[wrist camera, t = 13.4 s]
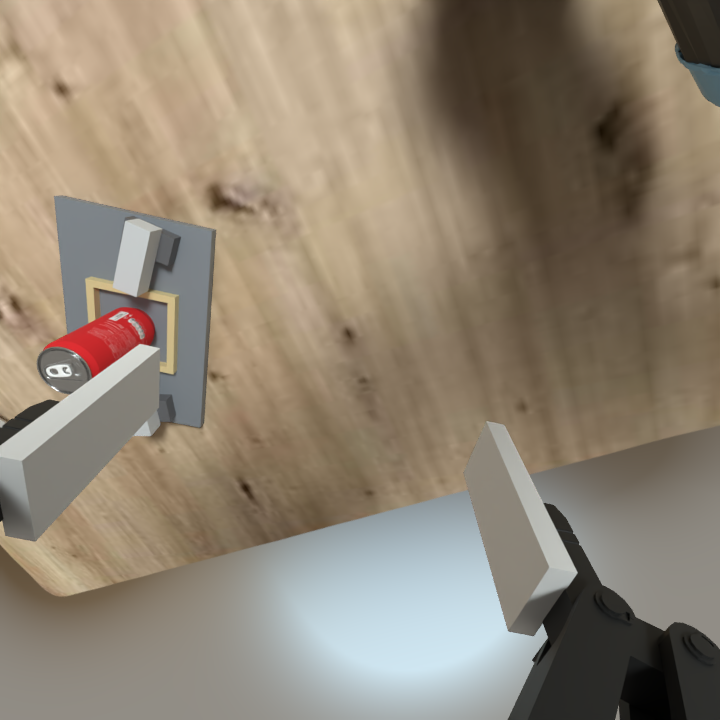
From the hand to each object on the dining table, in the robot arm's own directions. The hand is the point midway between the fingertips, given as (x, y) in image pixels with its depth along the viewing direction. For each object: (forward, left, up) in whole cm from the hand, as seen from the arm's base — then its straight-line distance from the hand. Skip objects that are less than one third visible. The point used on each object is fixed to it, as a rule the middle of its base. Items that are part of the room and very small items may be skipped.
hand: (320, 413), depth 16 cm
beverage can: (+12, -23, -30) cm, 40 cm away
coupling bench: (+12, -23, -31) cm, 40 cm away
